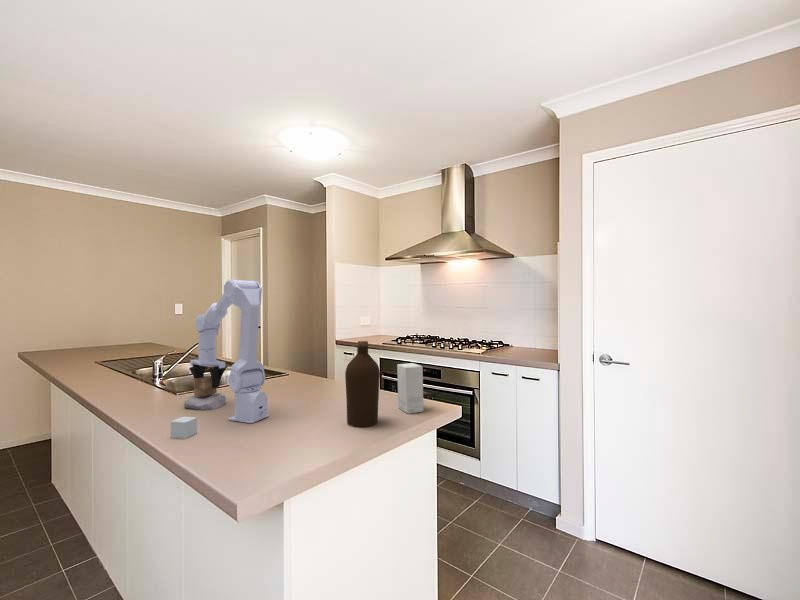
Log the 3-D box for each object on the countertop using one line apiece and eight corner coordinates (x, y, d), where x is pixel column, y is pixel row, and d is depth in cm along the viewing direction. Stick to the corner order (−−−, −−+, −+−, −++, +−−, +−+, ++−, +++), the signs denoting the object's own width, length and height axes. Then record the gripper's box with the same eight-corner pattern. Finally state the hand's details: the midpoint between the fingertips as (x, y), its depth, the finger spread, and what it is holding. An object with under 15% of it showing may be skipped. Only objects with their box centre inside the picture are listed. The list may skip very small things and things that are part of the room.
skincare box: (423, 412, 130) (424, 366, 129) (405, 414, 127) (405, 367, 127) (413, 405, 137) (414, 362, 137) (396, 407, 135) (396, 363, 135)
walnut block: (216, 392, 138) (215, 376, 138) (205, 396, 133) (203, 378, 134) (206, 392, 140) (205, 376, 140) (194, 396, 135) (193, 379, 135)
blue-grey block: (196, 433, 109) (196, 417, 109) (185, 439, 104) (185, 422, 104) (183, 432, 110) (183, 416, 110) (170, 437, 105) (170, 421, 105)
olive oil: (353, 430, 111) (353, 344, 111) (340, 420, 121) (340, 340, 121) (385, 424, 117) (386, 342, 117) (370, 415, 126) (371, 339, 126)
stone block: (213, 416, 131) (228, 402, 141) (211, 403, 130) (226, 390, 140) (180, 416, 132) (197, 402, 142) (178, 403, 131) (195, 390, 141)
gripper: (182, 349, 136) (182, 387, 136) (213, 351, 131) (213, 391, 131) (199, 346, 143) (199, 383, 143) (229, 348, 137) (229, 386, 137)
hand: (207, 386), depth 137 cm, fingers open, 7 cm apart
